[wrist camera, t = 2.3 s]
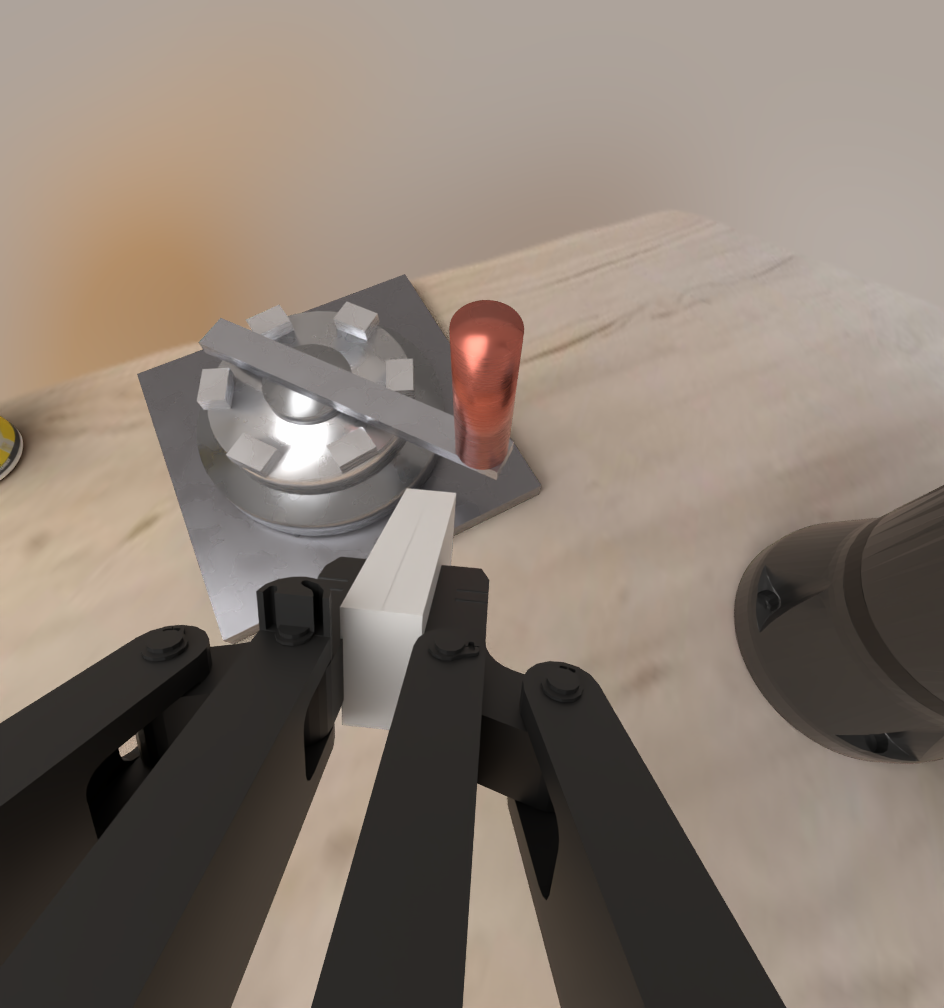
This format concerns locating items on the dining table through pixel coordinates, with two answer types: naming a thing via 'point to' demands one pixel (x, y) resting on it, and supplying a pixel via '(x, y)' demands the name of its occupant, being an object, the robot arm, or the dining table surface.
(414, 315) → the grey crank base
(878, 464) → the dining table surface
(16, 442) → the pill bottle
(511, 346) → the red grip crank lever
